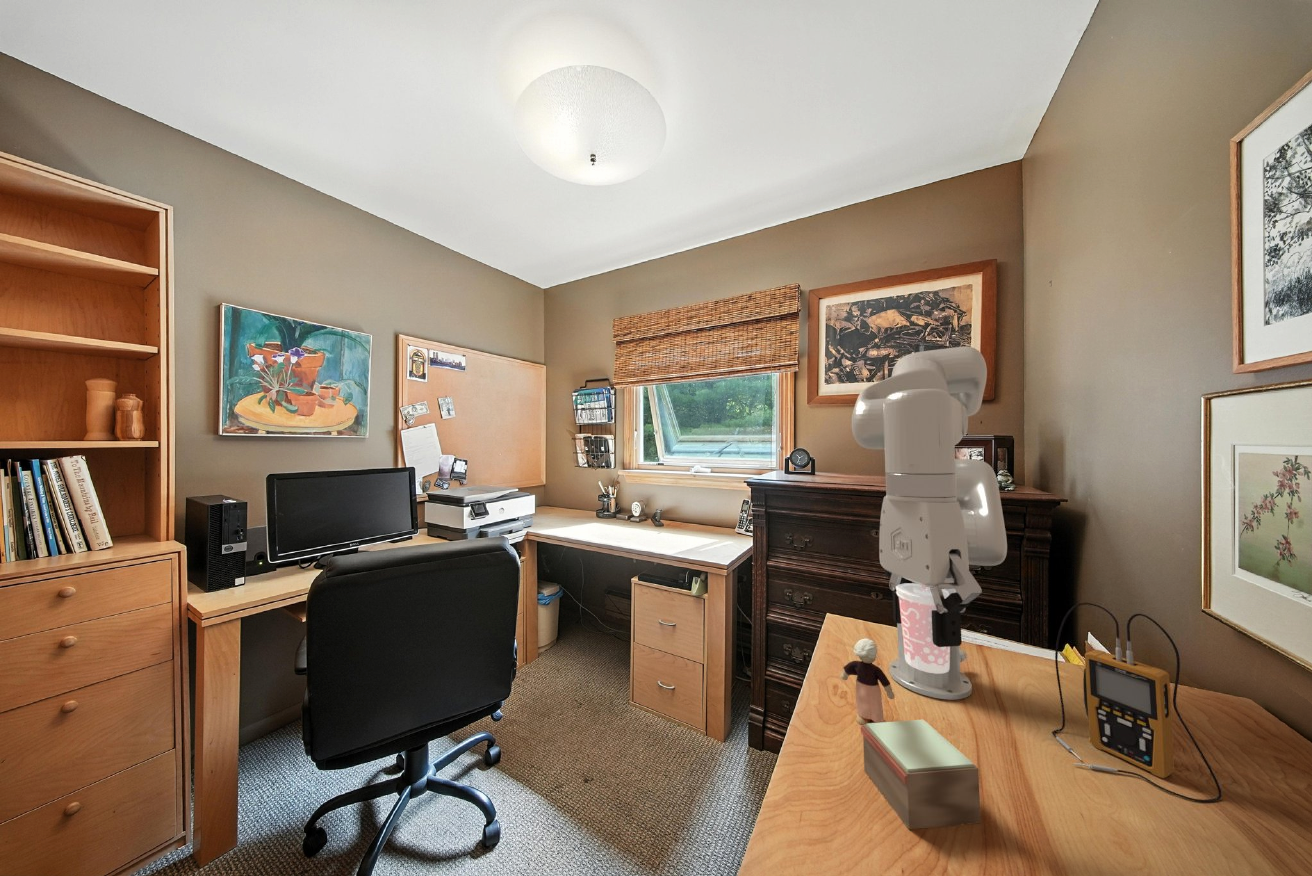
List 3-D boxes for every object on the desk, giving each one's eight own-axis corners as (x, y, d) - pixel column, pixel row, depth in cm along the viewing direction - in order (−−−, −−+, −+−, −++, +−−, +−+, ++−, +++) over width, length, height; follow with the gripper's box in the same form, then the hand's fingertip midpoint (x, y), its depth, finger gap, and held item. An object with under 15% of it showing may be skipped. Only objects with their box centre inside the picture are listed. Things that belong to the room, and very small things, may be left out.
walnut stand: (925, 765, 56) (923, 717, 56) (980, 822, 47) (978, 765, 47) (862, 770, 55) (860, 722, 55) (906, 829, 46) (904, 771, 47)
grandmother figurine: (897, 723, 64) (894, 640, 65) (895, 737, 61) (892, 650, 62) (843, 707, 69) (841, 629, 69) (839, 719, 65) (836, 638, 66)
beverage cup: (890, 650, 55) (887, 544, 56) (941, 654, 54) (937, 545, 55) (910, 674, 49) (905, 554, 50) (968, 679, 48) (962, 556, 49)
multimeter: (1029, 743, 60) (1022, 602, 60) (1065, 724, 64) (1059, 592, 64) (1190, 827, 46) (1179, 644, 47) (1224, 797, 50) (1213, 628, 51)
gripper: (852, 484, 61) (856, 609, 60) (947, 494, 43) (954, 670, 43) (900, 483, 61) (904, 606, 61) (1012, 493, 44) (1020, 665, 43)
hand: (925, 631), depth 52 cm, fingers closed on beverage cup, 6 cm apart
